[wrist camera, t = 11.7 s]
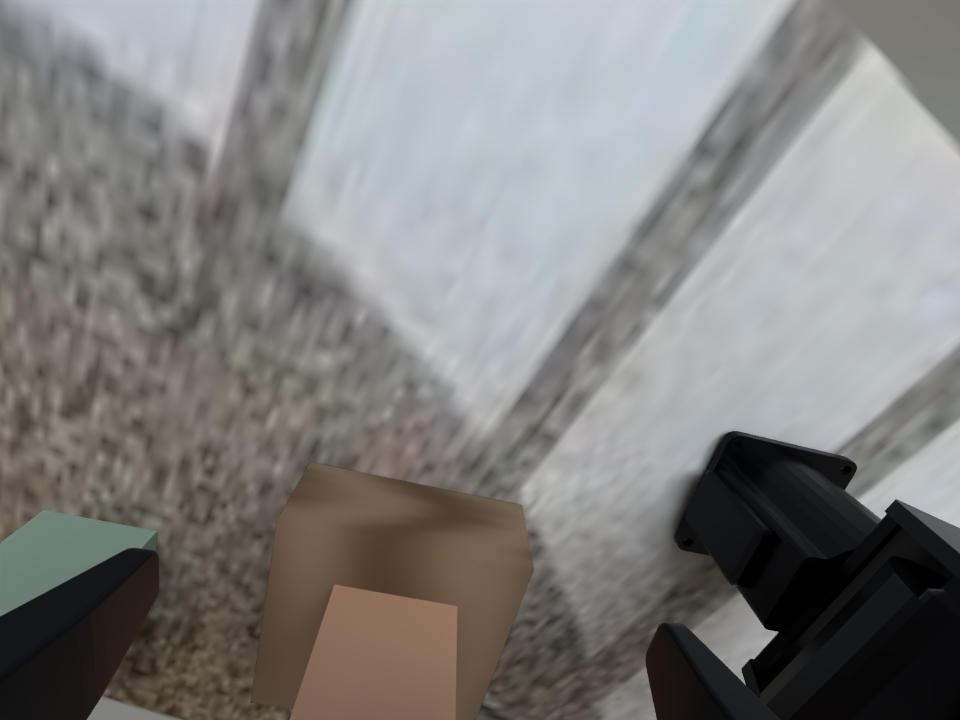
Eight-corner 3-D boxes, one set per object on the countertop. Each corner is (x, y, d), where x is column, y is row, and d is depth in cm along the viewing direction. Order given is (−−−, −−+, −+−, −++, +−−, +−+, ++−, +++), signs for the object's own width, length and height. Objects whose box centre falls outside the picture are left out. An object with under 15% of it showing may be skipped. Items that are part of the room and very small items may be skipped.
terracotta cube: (457, 606, 19) (455, 743, 14) (429, 689, 21) (419, 837, 16) (334, 584, 18) (289, 720, 14) (316, 672, 20) (269, 820, 15)
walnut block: (521, 505, 22) (533, 569, 18) (469, 653, 25) (470, 733, 22) (310, 462, 21) (276, 521, 17) (283, 623, 24) (250, 702, 20)
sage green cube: (157, 530, 22) (74, 621, 17) (153, 607, 24) (77, 710, 19) (44, 508, 22) (-73, 597, 17) (48, 589, 23) (-57, 690, 18)
